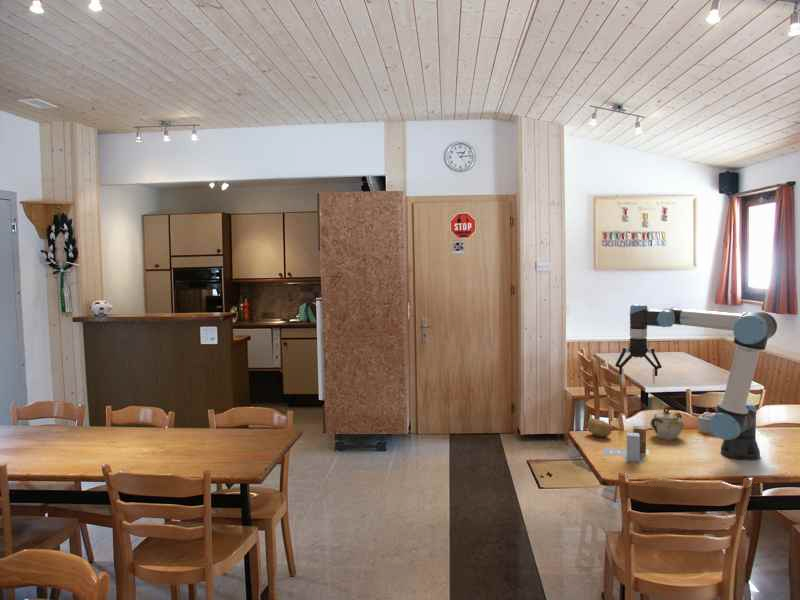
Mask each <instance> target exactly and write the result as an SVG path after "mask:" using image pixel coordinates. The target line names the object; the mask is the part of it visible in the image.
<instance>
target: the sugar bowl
mask: <svg viewBox="0 0 800 600" xmlns="http://www.w3.org/2000/svg"><path fill="white" fill-rule="evenodd" d="M682 419H683V418H682V414H681V413H680V412H677V413H670V407H668V406H665V407H664V408H663V411H662V412H661V413H657V414H655V415H654V416H653V417H651V419H650V423H649V424H650V427H651V429H652V430H653V432H654V433H655V435H656V436H657V437H658V438H659V437H660V438H659V439H661V438H662V439H661V440H668V441H669V440H670V441H671V440H676V439H677V438H678V437H679V435H680V434H681V433H682V431H683V430H684V427H685V423H684V421H683V420H682Z"/></svg>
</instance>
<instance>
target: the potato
mask: <svg viewBox="0 0 800 600" xmlns="http://www.w3.org/2000/svg"><path fill="white" fill-rule="evenodd" d="M612 427H613V426H612V425H611V424H610V423H609V422H606V421H604V420H601V419H598V418H595V417H594V418H590V419H588V420H587V428H588V429H587V430H588V431H589V432H590V433H591V434H592V435H593V436H595V437H599V438H600V437H601V438H606V437H608V436H610V435H611V433H612V432H613V428H612Z"/></svg>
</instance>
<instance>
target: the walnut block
mask: <svg viewBox="0 0 800 600" xmlns="http://www.w3.org/2000/svg"><path fill="white" fill-rule="evenodd" d="M632 427H633V428H632V430H633V431H632V433H639V435H640V453H643V454H646V449H647V428H646V426H643V425H642V426H641V425H632Z"/></svg>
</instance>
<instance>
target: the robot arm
mask: <svg viewBox="0 0 800 600" xmlns="http://www.w3.org/2000/svg"><path fill="white" fill-rule="evenodd" d="M629 307H630V308H629V337H630V338H629V347H625V346H624V347H623V346H622V352H621V353H620V355H619V356H618V358H617V360H616V362H615V364H614V365H615V367H616V368H618V373H619V375H620V376H621V383H624V382H625V378H624V375H625V372H624V371H625V370H624V369H625V368H624V366H625V365H626V364H627V363H629V361H630V360H631V359H632V358H633V357H634V358H645V360H646V361H647V362H648V363H649V364H650V365H651V366H652V383H653V384H654V385H655V384H656V377H658V370H659V369H662V367H663V366H662V365H661V362H660V361H659V358H658V357H657V355H656V354H655V353H656V352H655V348H654V347H649V348H648V339H647V337H648V326H651V327H653V326H654V327H661V328H666V327H667V328H671V327H672V326H673V325H676V326H678V325H679V326H687V327H696V328H697V327H698V328H706V329H716V330H723V331H724V330H725V331H732V332H733V335H734V338H733V345H735V351H734V356H733V359H732V363H731V367H730V371H729V374H728V379H727V383H726V386H725V390H724V394H723V399H722V401H719V402H718V403H717V405H716V408H715V412H714V413H715V414H714V415H713V416H712V417H711V419H710V428H711V430H712V432H713V433H714V434H713V435H715V436H716V437H717V438H719V439H721V440H723V441H722V443H721V446H720V453H721V455H723V456H724V457H727V458H731V459H734V460H740V461H741V460H742V461H743V460H744V461H754V460H759V459H760V458H761V450H760V448H759V445H758V442H757V439H756V434H757V433H756V430H757V406H755V405H754V404H751V403H747V401H748V398H749V394H750V390H751V387H752V383H753V379H754V375H755V372H756V368H757V363H758V361H759V358H760V357H759V356H760V353H761V352H763V351H765V350H766V347H767V343H768V339H770V338H772V337H774V335H776V333H777V331H778V330H777V329H778V323H777V320H776V319H775V317H774V316H772V315H771V314H770V313H767V312H765V311H762V312H761V311H760V312H759V311H757V312H751V311H750V312H748V311H744V312H743V313H736V312H735V313H732V312H722V311H713V310H712V311H711V310H710V311H709V310H701V309H700V310H699V309H688V308H680V307H674V306H673V307H669V308H663V309H649V308H648V306H647V304H641V303H639V304H637V303H636V304H631V305H630V306H629ZM628 351H629V354H628V356H627V357H626V358H625V359H624V360H623V358H624V356H625V354H626V353H628ZM648 352H649V353H651V355H652V357H653V359H654V361H655V362H656V364H657V365H656V364H655V363H654V362H653V360H651V358H650V357H649V356H648V355H647V353H648ZM622 360H623V361H622ZM621 361H622V362H621Z"/></svg>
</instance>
